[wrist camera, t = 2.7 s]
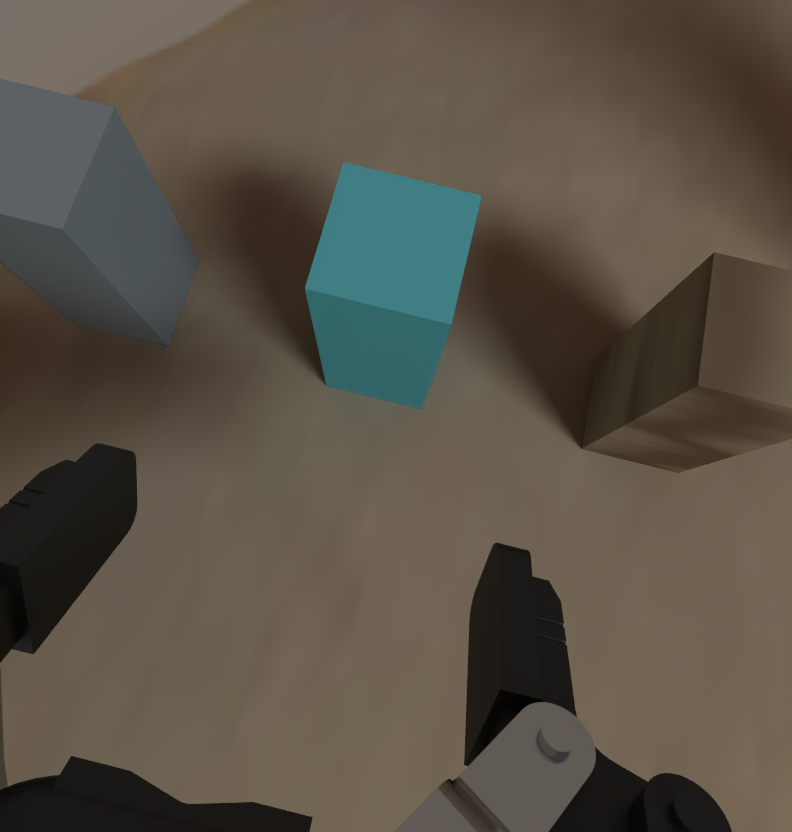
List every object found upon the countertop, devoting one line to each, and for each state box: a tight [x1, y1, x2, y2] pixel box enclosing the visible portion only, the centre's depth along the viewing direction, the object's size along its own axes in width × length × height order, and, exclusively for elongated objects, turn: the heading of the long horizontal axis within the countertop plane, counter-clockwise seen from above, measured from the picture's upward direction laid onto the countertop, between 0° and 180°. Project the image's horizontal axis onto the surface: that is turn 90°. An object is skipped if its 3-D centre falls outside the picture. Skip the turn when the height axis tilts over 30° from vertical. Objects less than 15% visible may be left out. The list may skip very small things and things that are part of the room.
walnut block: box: [582, 252, 792, 473], centre depth 23 cm, size 4×4×10 cm
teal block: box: [305, 162, 482, 409], centre depth 23 cm, size 4×4×10 cm
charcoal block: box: [0, 79, 199, 346], centre depth 24 cm, size 4×4×10 cm
